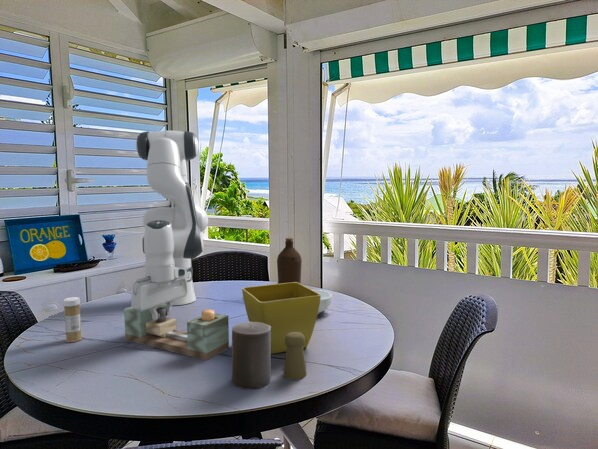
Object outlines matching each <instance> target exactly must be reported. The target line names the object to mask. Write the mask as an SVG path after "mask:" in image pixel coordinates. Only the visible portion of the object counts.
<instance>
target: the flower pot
mask: <svg viewBox="0 0 598 449" xmlns="http://www.w3.org/2000/svg"><path fill="white" fill-rule="evenodd" d="M241 290H242V298H243V303H244V307H245V312H246V316H247V319H248V322H259V323H264V324H267V325H269V326H271V354H278V353H284V352H285V353H286V351H287V345H286V344H285V337H286V335H287V334H288V333H290V332H300V333H302V334H303V335H304V337H305V343H304V345H303V349H306V348H308V346H309V343H310V342H311V338H312V335H313V333H314V329H315V326H316V322H317V319H318V315H319V314H318V310H319V304H320V298H321V295H320V294H319V293H317V292H315V291H313V290H314V289H311V288H309V287H307V286H305V285H303V284H300V283H297V282H292V283H282V284H278V283H273V284H262V285H257V286H255V285H254V286H245V287H242V288H241Z"/></svg>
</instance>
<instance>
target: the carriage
mask: <svg viewBox="0 0 598 449" xmlns="http://www.w3.org/2000/svg"><path fill="white" fill-rule="evenodd" d="M165 307H166V306H164V307H159V308H157V309H156V311H157V313H160V319H157V320H152V321H149V322H146V332H147V333H150V334H152V335H157V336H161V337H166V333H167V332H170V331H171V332H173V330H177V325H178V324H177V319H176V318H172V317H168V316H166V308H165Z"/></svg>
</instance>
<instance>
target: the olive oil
mask: <svg viewBox="0 0 598 449" xmlns="http://www.w3.org/2000/svg"><path fill="white" fill-rule="evenodd" d="M284 244H285V247H284V248H283V249H282V250H281V251H280V252H279V254H278V255H277V258H276V266H277V284H282V283H292V282H297V283H300V284H301V282H302V281H301V280H302V263H303V262H302V261H303V260H302V256H301V254H300V253H299V252H298V251H297V249H296V248H295V247H294V238H292V237H285V243H284Z"/></svg>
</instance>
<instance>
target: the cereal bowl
mask: <svg viewBox="0 0 598 449" xmlns="http://www.w3.org/2000/svg"><path fill="white" fill-rule="evenodd" d="M312 290H313V291H315V292H317V293H319V294H320V295H321V298H320V304H319V310H318V315H319V314H320V313H323V312H324V311H326V310H327V309H329V307H330V306H331V304H332V299H333V298H332V293H330V292H329V291H325V290H320V289H312Z"/></svg>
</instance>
